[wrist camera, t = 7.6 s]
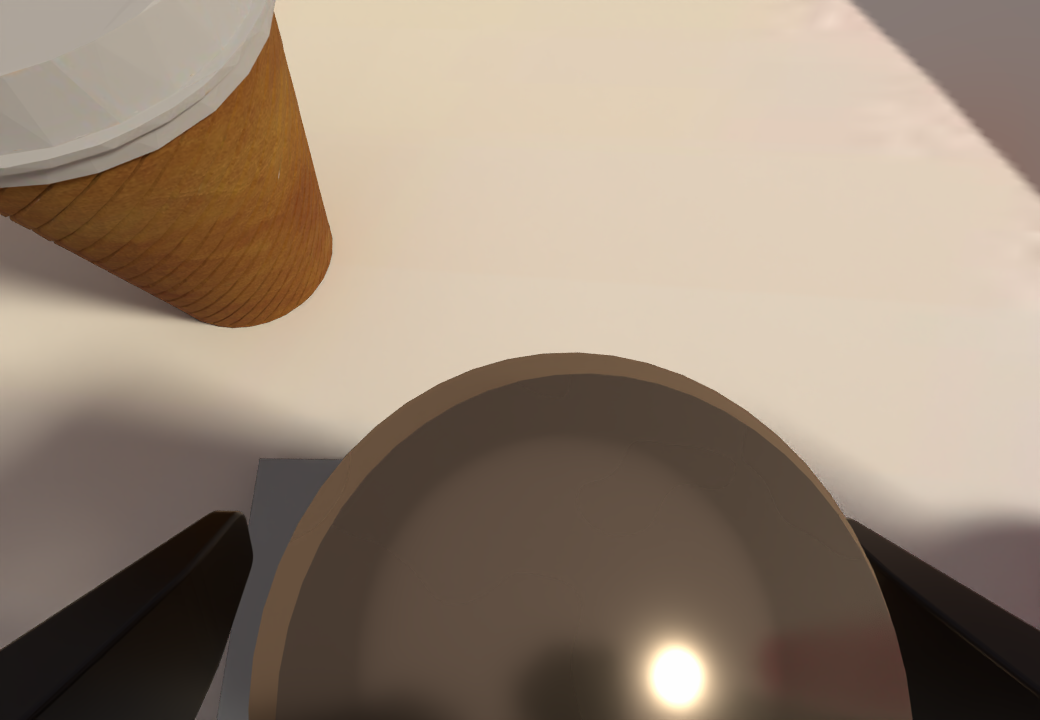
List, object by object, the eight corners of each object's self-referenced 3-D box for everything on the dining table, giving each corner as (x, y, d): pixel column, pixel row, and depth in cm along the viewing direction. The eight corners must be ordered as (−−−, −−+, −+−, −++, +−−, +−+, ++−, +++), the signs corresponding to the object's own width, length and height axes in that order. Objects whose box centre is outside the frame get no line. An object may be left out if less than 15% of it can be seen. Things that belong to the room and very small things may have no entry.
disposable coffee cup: (271, 111, 23) (65, -310, 12) (426, 254, 21) (357, -84, 10) (63, 249, 21) (-453, -120, 9) (219, 426, 19) (-190, 231, 7)
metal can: (479, 715, 15) (428, 1535, 2) (400, 549, 17) (106, 523, 4) (628, 617, 16) (1138, 836, 4) (543, 467, 18) (688, 234, 5)
